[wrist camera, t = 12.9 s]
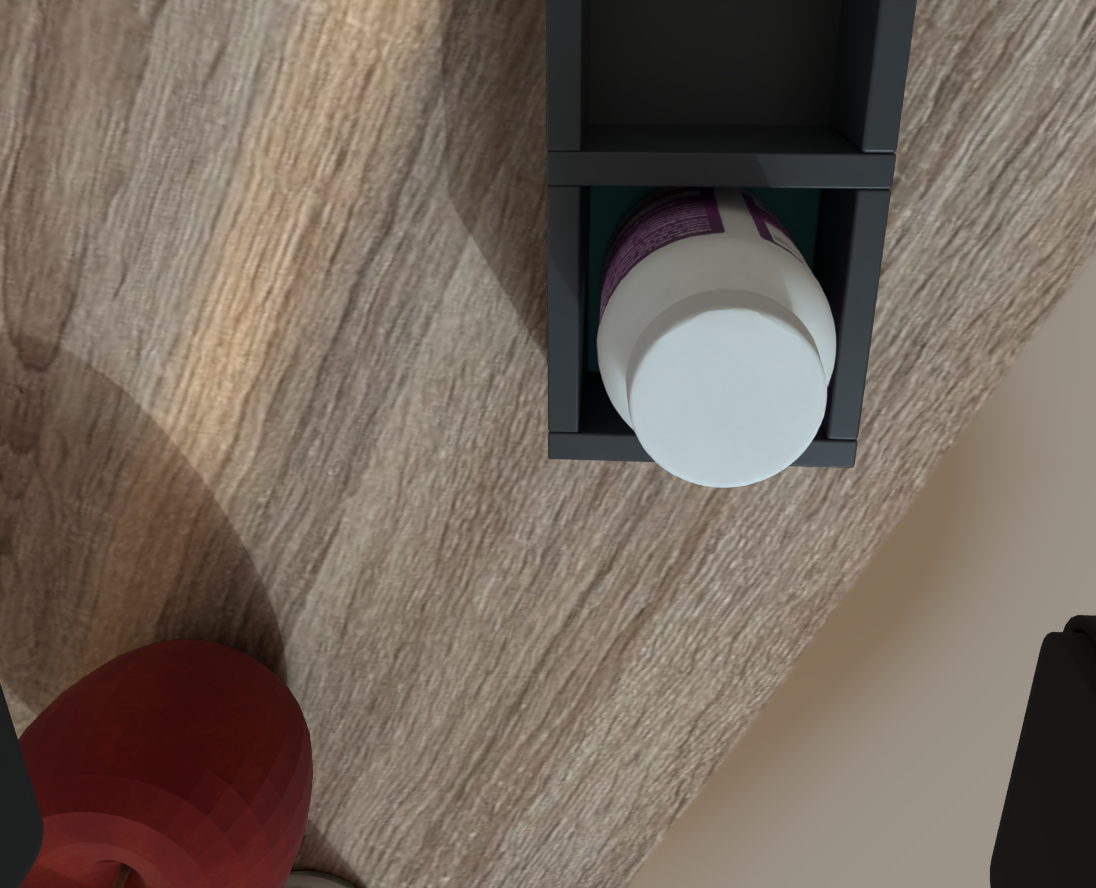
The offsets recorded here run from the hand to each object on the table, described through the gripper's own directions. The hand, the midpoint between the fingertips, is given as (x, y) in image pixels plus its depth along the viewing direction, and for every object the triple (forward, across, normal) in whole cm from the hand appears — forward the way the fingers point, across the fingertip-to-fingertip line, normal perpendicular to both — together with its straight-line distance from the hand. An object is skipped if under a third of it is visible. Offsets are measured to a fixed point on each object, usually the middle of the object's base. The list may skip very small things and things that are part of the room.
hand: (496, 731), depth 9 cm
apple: (+22, +14, +18) cm, 32 cm away
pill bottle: (+22, -3, +2) cm, 22 cm away
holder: (+22, -3, -1) cm, 23 cm away
